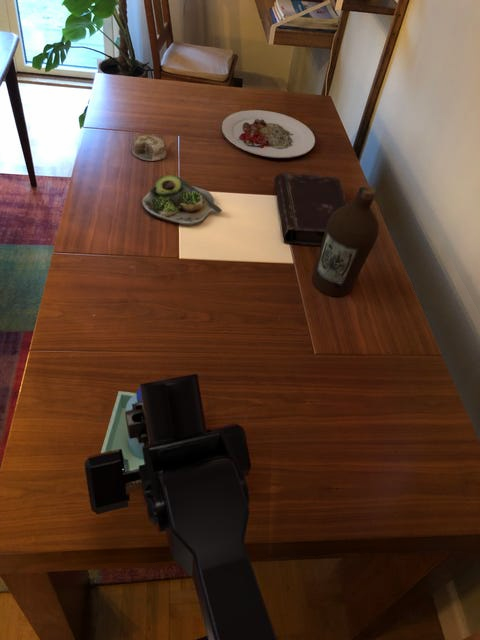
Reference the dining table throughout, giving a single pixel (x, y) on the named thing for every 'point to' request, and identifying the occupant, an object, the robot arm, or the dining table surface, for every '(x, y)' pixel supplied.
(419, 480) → the dining table surface
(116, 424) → the shallow open tray
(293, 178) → the diary
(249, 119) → the plated food
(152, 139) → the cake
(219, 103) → the dining table surface
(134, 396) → the water bottle
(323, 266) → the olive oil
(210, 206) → the avocado toast plate
